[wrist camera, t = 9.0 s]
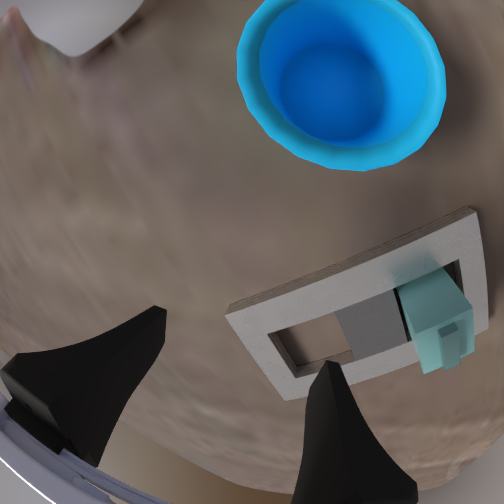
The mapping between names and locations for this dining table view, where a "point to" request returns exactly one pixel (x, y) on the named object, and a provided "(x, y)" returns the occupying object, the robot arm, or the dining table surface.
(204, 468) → the dining table surface
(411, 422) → the dining table surface
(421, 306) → the plug
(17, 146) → the dining table surface
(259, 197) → the dining table surface
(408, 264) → the panel
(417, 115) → the mug
